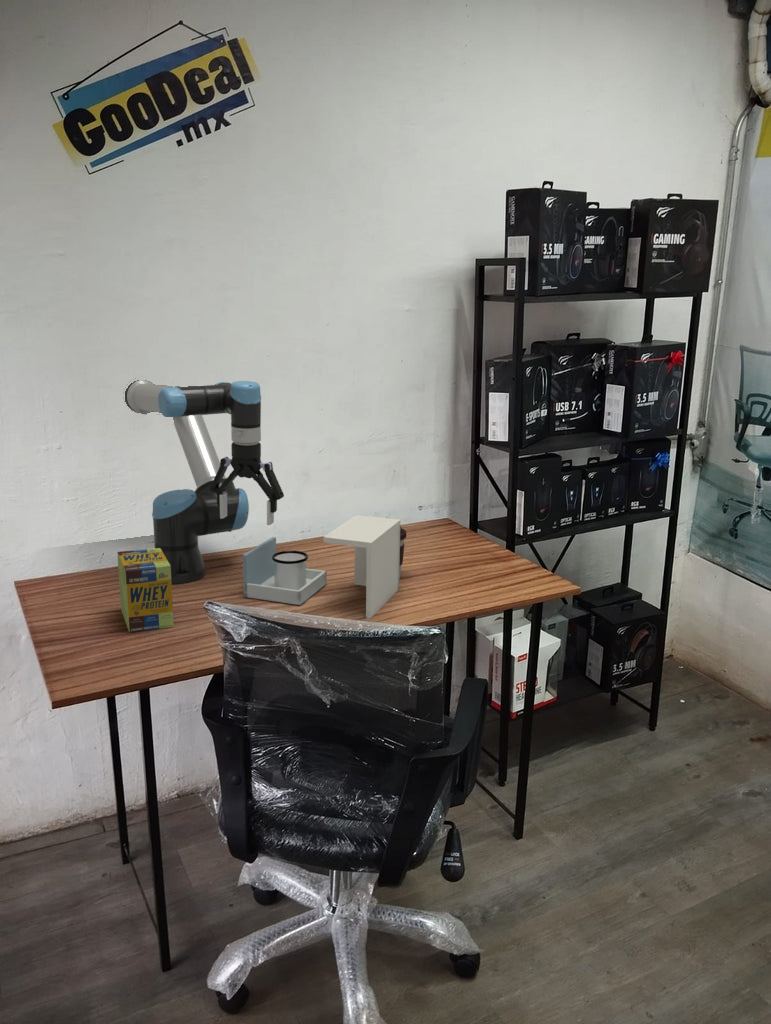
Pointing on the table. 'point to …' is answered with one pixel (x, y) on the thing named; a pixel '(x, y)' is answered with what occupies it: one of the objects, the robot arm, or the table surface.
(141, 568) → the protein box
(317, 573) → the tray
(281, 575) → the mug
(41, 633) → the table surface
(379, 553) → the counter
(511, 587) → the table surface
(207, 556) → the table surface
